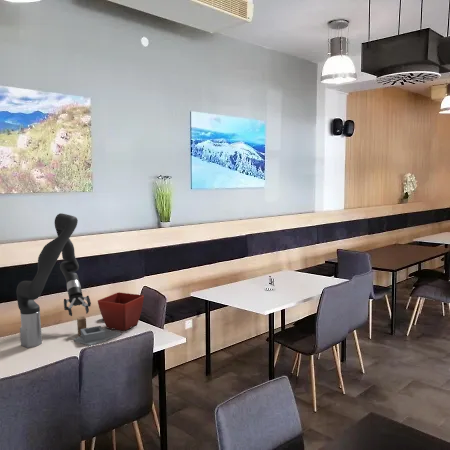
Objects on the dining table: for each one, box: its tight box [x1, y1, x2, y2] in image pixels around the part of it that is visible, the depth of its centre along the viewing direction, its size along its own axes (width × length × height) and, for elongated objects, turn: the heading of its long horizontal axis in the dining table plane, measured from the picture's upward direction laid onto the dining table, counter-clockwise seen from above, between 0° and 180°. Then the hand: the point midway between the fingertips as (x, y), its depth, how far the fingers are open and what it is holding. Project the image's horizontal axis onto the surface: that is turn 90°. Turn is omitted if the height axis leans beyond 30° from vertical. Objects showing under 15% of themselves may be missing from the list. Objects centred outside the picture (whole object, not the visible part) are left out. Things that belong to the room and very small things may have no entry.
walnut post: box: [76, 316, 87, 337], centre depth 246 cm, size 4×4×9 cm
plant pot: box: [97, 291, 145, 332], centre depth 257 cm, size 19×19×17 cm
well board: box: [73, 325, 122, 347], centre depth 240 cm, size 20×14×5 cm
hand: (79, 314), depth 250 cm, fingers open, 8 cm apart
